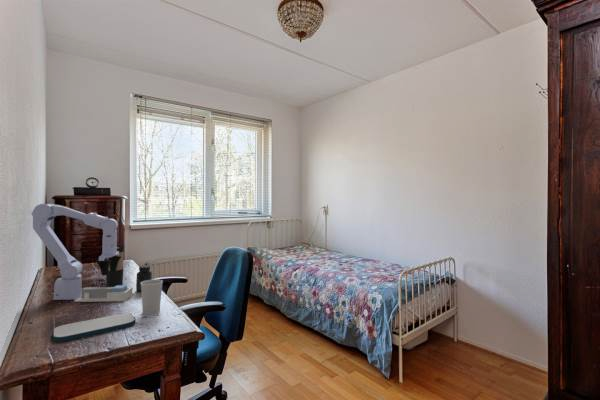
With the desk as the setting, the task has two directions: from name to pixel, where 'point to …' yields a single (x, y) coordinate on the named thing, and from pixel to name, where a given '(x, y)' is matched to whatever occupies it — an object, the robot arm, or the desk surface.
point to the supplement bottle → (143, 276)
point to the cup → (151, 296)
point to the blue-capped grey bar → (102, 291)
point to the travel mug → (116, 276)
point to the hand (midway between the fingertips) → (109, 273)
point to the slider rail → (108, 296)
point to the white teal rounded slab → (92, 327)
